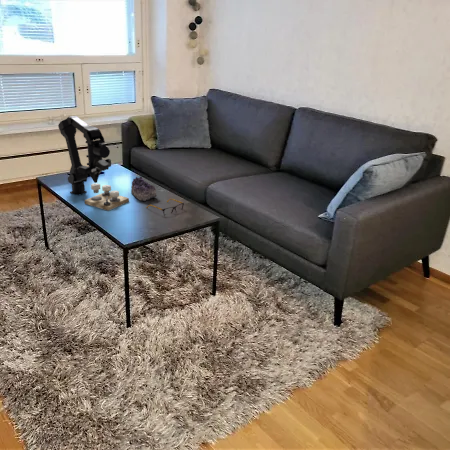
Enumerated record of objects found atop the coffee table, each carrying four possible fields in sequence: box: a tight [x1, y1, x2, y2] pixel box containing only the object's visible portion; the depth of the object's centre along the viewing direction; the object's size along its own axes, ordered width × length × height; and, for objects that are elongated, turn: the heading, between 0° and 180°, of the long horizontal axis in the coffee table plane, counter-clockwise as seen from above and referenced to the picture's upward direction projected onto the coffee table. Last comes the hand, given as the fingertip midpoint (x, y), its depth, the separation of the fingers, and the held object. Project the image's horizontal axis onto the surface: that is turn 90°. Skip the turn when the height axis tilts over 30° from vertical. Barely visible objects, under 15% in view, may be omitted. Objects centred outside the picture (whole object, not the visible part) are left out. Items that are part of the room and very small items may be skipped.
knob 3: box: [109, 190, 120, 200], centre depth 239 cm, size 5×5×4 cm
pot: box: [104, 197, 111, 206], centre depth 233 cm, size 2×2×4 cm
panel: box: [84, 191, 130, 211], centre depth 241 cm, size 16×16×2 cm
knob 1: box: [90, 183, 101, 194], centre depth 238 cm, size 5×5×4 cm
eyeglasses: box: [145, 198, 185, 216], centre depth 238 cm, size 14×14×4 cm
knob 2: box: [101, 184, 112, 194], centre depth 246 cm, size 5×5×4 cm
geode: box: [130, 176, 157, 202], centre depth 253 cm, size 20×12×10 cm, turn 35°
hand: (95, 182), depth 237 cm, fingers closed
